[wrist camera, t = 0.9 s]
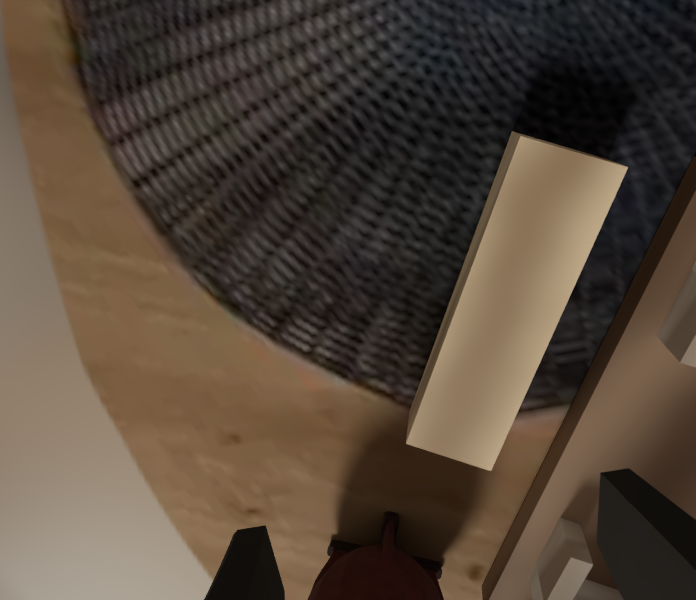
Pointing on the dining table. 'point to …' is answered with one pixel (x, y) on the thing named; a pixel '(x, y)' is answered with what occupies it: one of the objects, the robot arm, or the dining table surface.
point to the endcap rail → (616, 426)
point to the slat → (510, 296)
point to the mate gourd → (377, 571)
